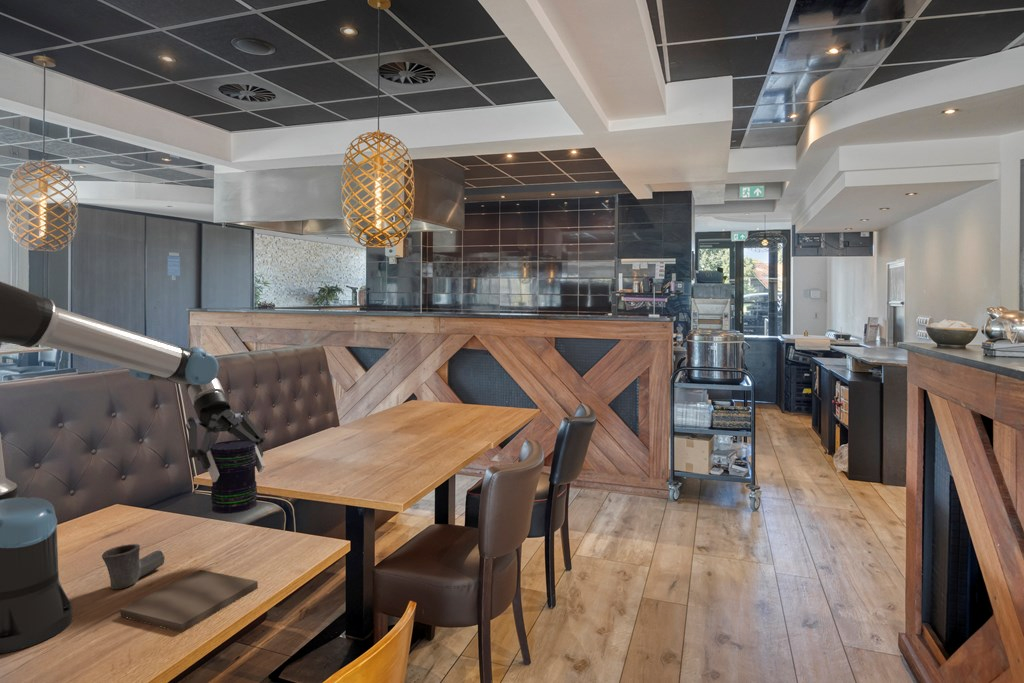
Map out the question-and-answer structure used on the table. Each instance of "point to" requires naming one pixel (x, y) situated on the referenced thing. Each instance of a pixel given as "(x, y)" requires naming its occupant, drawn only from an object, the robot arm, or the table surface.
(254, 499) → the navy cylinder
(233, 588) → the walnut serving board
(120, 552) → the pipe
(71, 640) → the table surface
